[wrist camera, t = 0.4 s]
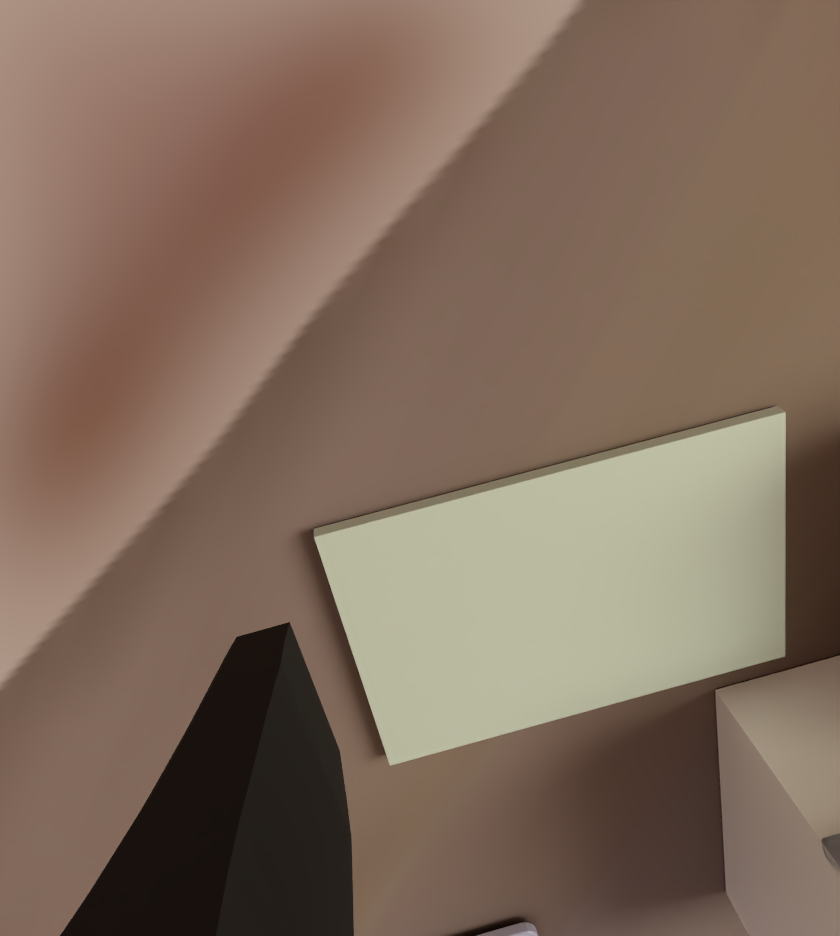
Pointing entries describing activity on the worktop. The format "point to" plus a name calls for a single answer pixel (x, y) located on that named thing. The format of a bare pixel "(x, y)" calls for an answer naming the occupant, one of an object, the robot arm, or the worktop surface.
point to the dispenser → (782, 799)
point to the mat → (566, 585)
